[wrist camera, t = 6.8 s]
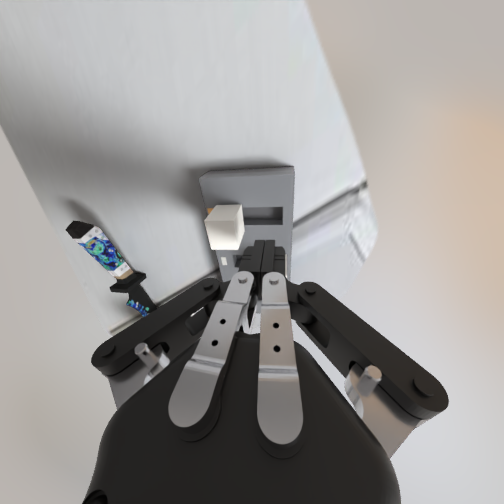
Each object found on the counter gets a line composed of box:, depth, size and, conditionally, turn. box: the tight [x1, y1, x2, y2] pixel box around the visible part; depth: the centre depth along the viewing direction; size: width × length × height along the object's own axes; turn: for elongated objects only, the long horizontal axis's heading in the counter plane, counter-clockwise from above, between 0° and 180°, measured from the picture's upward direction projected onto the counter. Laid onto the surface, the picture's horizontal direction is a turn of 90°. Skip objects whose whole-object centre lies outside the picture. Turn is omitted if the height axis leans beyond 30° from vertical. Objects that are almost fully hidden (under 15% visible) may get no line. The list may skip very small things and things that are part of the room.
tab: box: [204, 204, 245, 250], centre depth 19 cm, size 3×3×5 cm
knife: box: [66, 221, 157, 317], centre depth 33 cm, size 30×3×4 cm, turn 0°
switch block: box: [199, 166, 295, 313], centre depth 24 cm, size 20×9×3 cm, turn 5°
